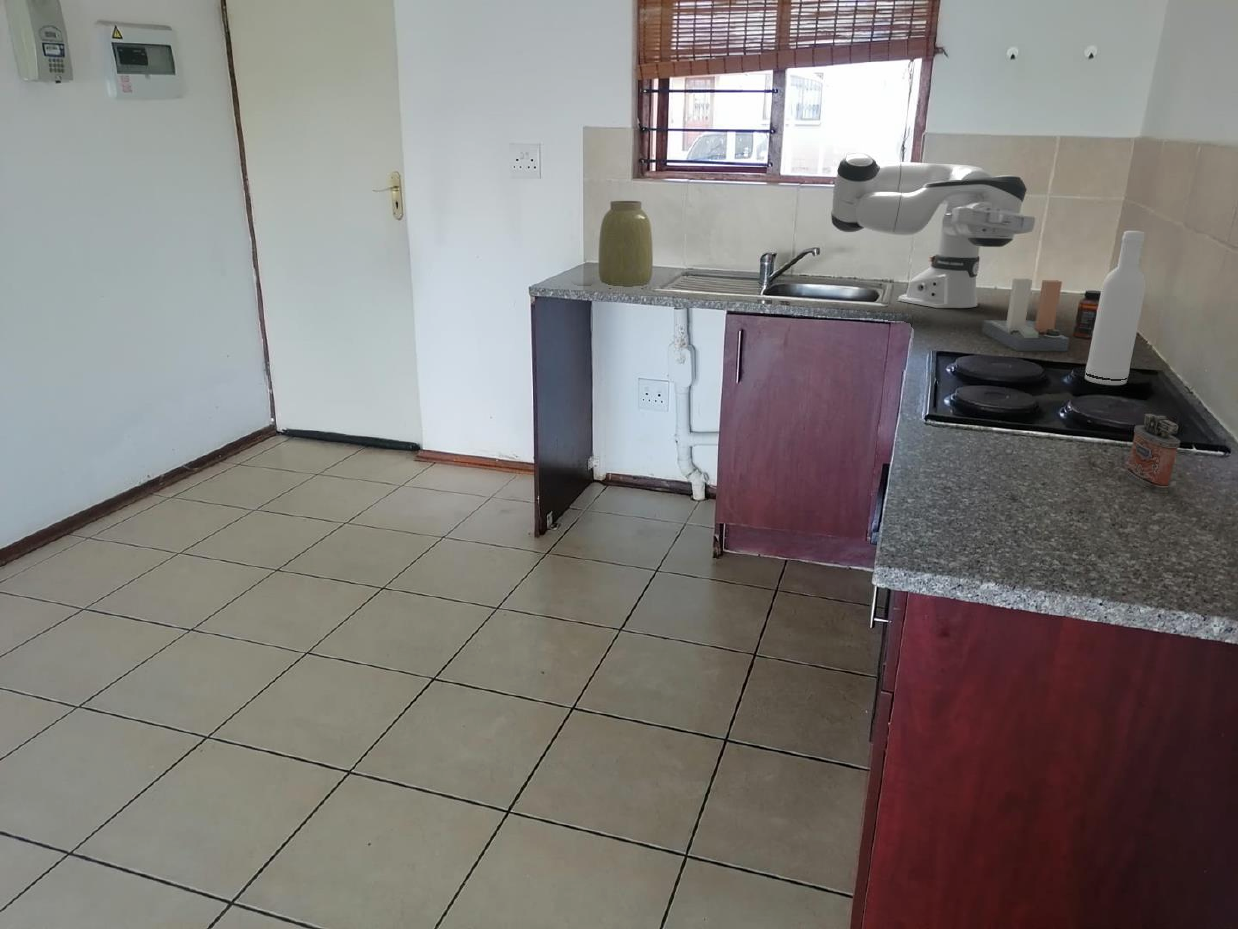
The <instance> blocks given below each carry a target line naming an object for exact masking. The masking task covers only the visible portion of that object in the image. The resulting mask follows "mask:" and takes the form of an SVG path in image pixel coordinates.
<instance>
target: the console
mask: <svg viewBox="0 0 1238 929" xmlns="http://www.w3.org/2000/svg"><path fill="white" fill-rule="evenodd" d="M1006 323H1007V320H986V319H985V320H983V322H982V328H981V333H982V334H985V335H987V336H989V337H990V338H992V339H994V340H996V341H997V342H999V343H1001V344H1003V345H1005V346H1006V347H1008V348H1010V349H1011V350H1014V351H1015V352H1068V349H1069V344H1070V338H1069V337H1067V336H1065V335H1063V334H1061V330H1060V329H1055V328H1054V329H1048V330H1046V332H1038V331H1037V332H1038V333H1039V335H1038V338H1025V337H1024V336H1023V335H1022V334H1021V333H1020V332H1019V331H1011V330H1009V329H1007V328H1006ZM1035 323H1036V320H1033V321H1032V320H1026V322H1025V327H1033V328H1034V329H1035Z"/></svg>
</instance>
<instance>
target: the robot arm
mask: <svg viewBox="0 0 1238 929" xmlns="http://www.w3.org/2000/svg"><path fill="white" fill-rule="evenodd" d="M836 172H837V175H836V178H835V180H834V186H833V192H832V193H833V197H832V210H831V215H830V216H831V217H830V218H831V223H832V225H833V226H834V227H835V228H836V230H839V231H842V232H845V233H855V232H858V231H861V230H864V229H866V230H871V231H874V232H878V233H882V234H883V233H884V234H888V235H896V236H913V235H916V234H917V233H919V232H921V231H922V230H924V228H925V227H926V226H927V225H928V224H929V222H930V221H931V220H932V218H933V216H934V215H935V213H936V211H937V210H938V208H939V207H940V205H947V206H946V211H945V213H944V215H943V218H942V221H941V222H942V224H941V229H940V236H939V237H940V239H939V245H938V253H937V254H935V255H933V256H932V257H929V260H928V262H931V265H930V267H929V268H927V269H926V270H924V271H922V272H921V273H918V275H916V276H914V277H913V278H911V280H910V281H909V284H908V286H907V291H906V293H904V294H901V295H899V296H898V301H899V302H903V303H910V304H915V305H919V306H926V307H931V308H935V309H967V308H969V309H970V308H975V307H977V306H978V299H977V289H976V288H977V276H978V273H979V268H980V260H981V258H980V256H979V253H980V247H984V248H985V247H986V248H987V247H988V248H1001V247H1002V248H1003V247H1004V246H1006V245H1008V244H1009V243H1011V242H1012V241H1013V240H1014V237H1015V235H1019V234H1027V233H1028V234H1029V233H1031V232H1032V231H1033V230H1034V227H1035V223H1036V217H1035V216H1033V215H1029V214H1023V213H1022V214H1021V213H1020V212H1021V208H1022V205H1023V202H1024V200H1025V196H1026V194H1027V189H1028V188H1027V187H1026V184H1025V183H1024V181H1023V180H1022V179H1021V177H1020V176H1016V175H1012V174H1002V175H997V176H991V175H990V173H989V172H988V171H987V170H986V169H984V168H982V167H979V166H974V165H969V164H951V163H950V164H949V163H933V162H932V163H928V162H911V161H910V162H909V161H893V160H892V161H877V162H876V160H875V159H874V158H873V157H871V156H870V155H868V154H865V153H860V152H859V153H858V152H856V153H855V152H854V153H850V154H848V155H846V156H845V157H842V159H841V160H840V162H839V164H838V167H837V171H836Z"/></svg>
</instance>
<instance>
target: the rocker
mask: <svg viewBox="0 0 1238 929" xmlns="http://www.w3.org/2000/svg"><path fill="white" fill-rule="evenodd" d="M1018 331H1019V332H1020V333H1021V334H1022V335H1023V336H1024V337H1025V338H1038V335H1039V333H1038V332H1037V331H1036V330H1035V329H1034V328H1033V327H1019V330H1018Z"/></svg>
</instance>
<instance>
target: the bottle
mask: <svg viewBox="0 0 1238 929" xmlns="http://www.w3.org/2000/svg"><path fill="white" fill-rule="evenodd" d="M1145 236H1146V233H1145V231H1141V230H1140V231H1139V230H1125V231H1123V236H1121V237H1122V238H1121V242H1122V243H1121V248H1120V252H1119V256H1118V257H1119V258H1118V263H1117V266H1116V268H1114V269H1112V270H1111V271H1110V272H1109V273H1108V274H1107V275H1106V277H1105V278H1104V280H1103V282H1102V285H1101V295H1100V300H1099V305H1098V310H1097V316H1096V321H1095V326H1094V331H1093V337H1092V338H1091V343H1090V348H1089V352H1088V353H1089V354H1088V359H1087V361H1086V362H1087V363H1086V366H1085V373H1084V374H1085V375H1084V379H1085V380H1086V381H1088V382H1091V383H1094V384H1098V385H1105V386H1122V385H1125V384H1127V381H1128V378H1129V374H1130V370H1131V369H1130V368H1131V367H1130V366H1131V361H1132V356H1133V352H1134V348H1135V342H1136V337H1137V333H1138V328H1139V323H1140V318H1141V313H1142V308H1143V302H1144V299H1145V294H1146V288H1147V285H1146V278H1145V275H1144V274H1143V273H1142V271H1141V270H1140V269H1139V263H1140V259H1141V254H1142V250H1143V244H1144V243H1145ZM1086 373H1087V374H1091V375H1094V376H1098V377H1103V378H1110V379H1125V378H1127V379H1126V380H1121V381H1111V380H1102V379H1096V378H1092V377H1089V376H1087V375H1086Z"/></svg>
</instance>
